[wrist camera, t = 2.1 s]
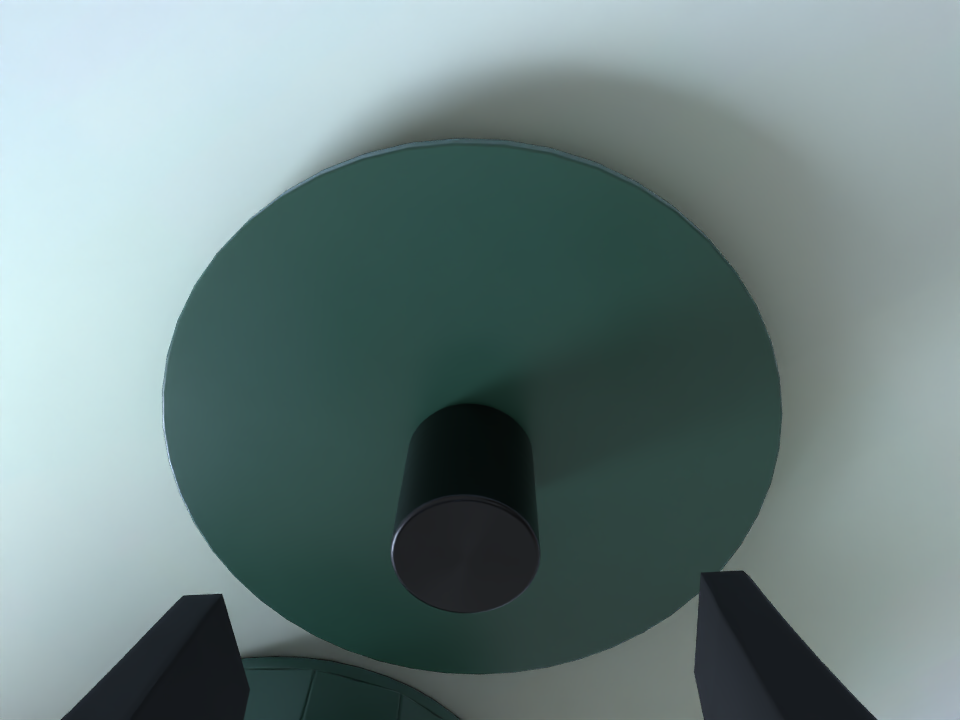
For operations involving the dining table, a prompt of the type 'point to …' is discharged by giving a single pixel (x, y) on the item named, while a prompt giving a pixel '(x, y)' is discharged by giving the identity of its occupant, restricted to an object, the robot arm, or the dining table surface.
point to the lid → (471, 406)
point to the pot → (330, 693)
